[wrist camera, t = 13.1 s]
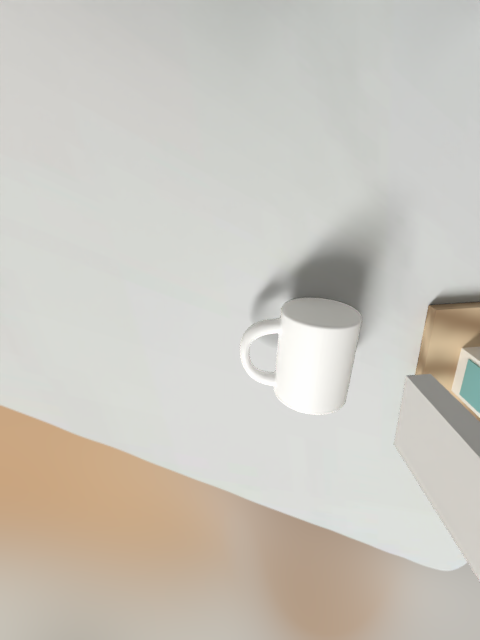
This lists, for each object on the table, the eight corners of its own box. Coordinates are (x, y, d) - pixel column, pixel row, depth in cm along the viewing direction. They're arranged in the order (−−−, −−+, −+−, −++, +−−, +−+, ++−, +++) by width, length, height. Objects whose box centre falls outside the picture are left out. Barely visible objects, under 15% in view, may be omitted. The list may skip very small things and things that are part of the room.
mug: (346, 297, 38) (376, 327, 31) (333, 373, 42) (356, 415, 35) (239, 295, 37) (244, 325, 30) (236, 372, 41) (239, 416, 34)
